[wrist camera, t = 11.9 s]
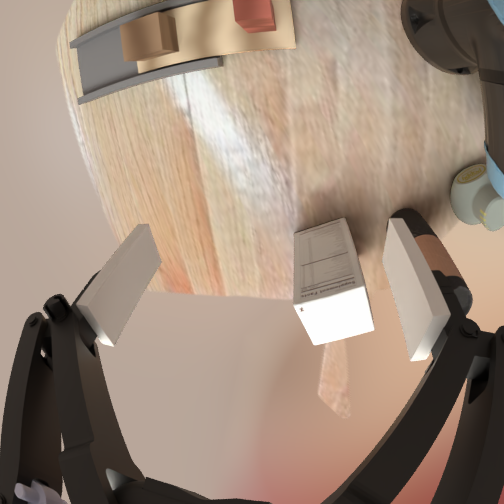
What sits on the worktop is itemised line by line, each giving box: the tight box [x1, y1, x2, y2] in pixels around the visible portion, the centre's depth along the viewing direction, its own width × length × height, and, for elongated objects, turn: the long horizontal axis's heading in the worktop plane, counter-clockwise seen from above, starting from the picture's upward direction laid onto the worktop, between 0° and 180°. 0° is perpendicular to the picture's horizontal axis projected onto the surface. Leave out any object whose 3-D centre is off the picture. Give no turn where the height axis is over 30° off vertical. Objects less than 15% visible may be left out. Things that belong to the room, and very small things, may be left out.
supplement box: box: [293, 218, 375, 345], centre depth 41 cm, size 10×9×17 cm
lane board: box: [70, 0, 223, 105], centre depth 30 cm, size 24×12×3 cm, turn 96°
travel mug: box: [387, 208, 473, 316], centre depth 35 cm, size 8×8×20 cm
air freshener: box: [450, 164, 504, 231], centre depth 33 cm, size 11×8×10 cm
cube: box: [120, 12, 179, 62], centre depth 26 cm, size 6×6×6 cm
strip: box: [137, 0, 296, 74], centre depth 24 cm, size 22×9×10 cm, turn 96°
